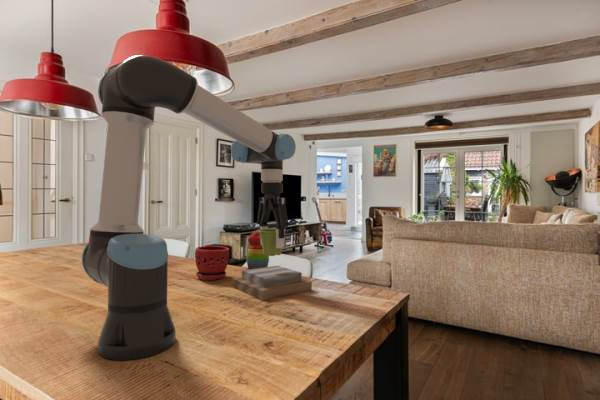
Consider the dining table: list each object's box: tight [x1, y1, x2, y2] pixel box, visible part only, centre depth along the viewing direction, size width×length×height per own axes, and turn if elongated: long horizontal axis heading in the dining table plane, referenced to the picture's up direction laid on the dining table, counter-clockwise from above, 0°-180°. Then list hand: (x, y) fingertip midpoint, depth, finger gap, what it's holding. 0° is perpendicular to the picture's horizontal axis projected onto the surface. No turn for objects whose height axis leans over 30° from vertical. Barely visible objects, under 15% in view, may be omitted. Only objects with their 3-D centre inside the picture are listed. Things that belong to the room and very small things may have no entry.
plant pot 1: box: [194, 245, 230, 281], centre depth 138 cm, size 13×13×12 cm
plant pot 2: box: [258, 228, 286, 257], centre depth 122 cm, size 9×9×9 cm
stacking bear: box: [245, 230, 270, 270], centre depth 146 cm, size 11×10×18 cm
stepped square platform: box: [232, 265, 313, 301], centre depth 122 cm, size 20×20×6 cm
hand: (271, 246), depth 122 cm, fingers closed on plant pot 2, 9 cm apart
